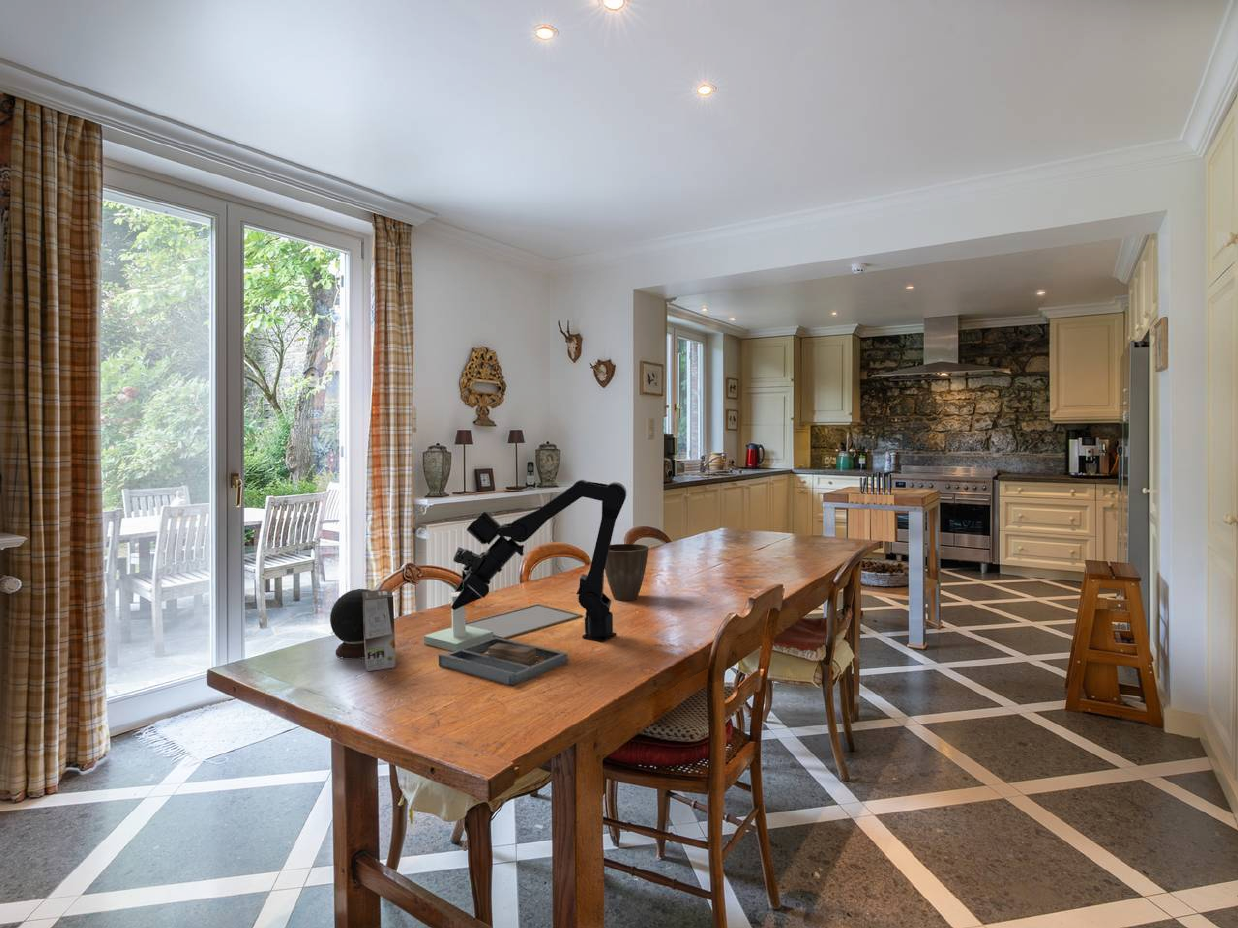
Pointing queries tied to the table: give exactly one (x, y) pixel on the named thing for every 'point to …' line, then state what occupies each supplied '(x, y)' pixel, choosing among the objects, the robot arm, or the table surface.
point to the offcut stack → (513, 653)
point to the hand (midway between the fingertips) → (452, 604)
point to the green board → (457, 638)
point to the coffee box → (379, 629)
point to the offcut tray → (500, 662)
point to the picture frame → (522, 620)
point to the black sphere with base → (349, 624)
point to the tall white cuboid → (458, 618)
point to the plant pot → (626, 570)
